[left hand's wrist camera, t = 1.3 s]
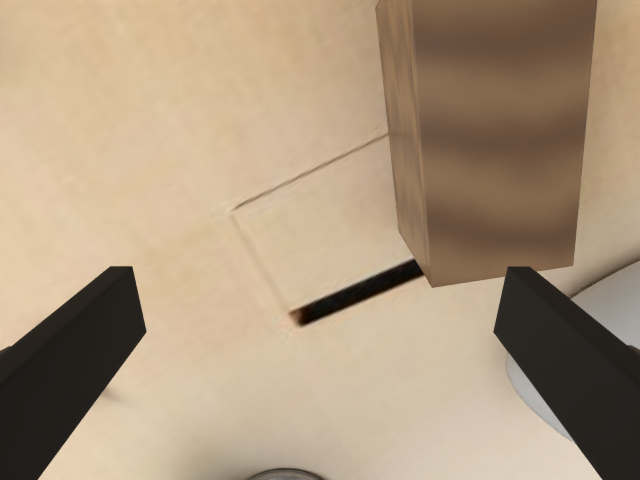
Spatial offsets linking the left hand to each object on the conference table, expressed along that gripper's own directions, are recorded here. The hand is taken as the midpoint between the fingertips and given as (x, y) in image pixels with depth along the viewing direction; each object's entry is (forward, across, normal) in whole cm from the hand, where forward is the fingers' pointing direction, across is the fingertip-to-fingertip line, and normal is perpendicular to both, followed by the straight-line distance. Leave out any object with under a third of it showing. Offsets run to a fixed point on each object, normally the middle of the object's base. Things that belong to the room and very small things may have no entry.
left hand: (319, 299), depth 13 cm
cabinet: (+24, -11, -5) cm, 27 cm away
